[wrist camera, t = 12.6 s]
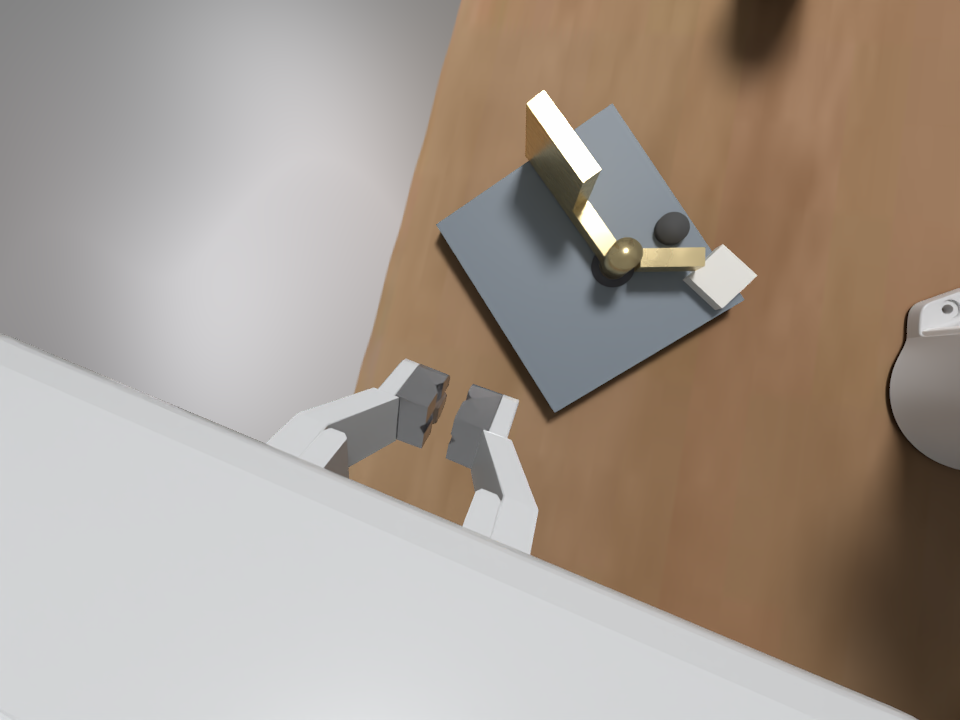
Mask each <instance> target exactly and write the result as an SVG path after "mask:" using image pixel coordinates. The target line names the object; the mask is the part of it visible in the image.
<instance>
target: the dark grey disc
mask: <svg viewBox="0 0 960 720" xmlns="http://www.w3.org/2000/svg"><path fill="white" fill-rule="evenodd" d="M689 230H690V223H689V220H688V218H687V217H686V216H685V215H684V214H682V213H680V212H669V213H667V214H665V215H663V216H662V217H661V218H660V219H659V220H658V221H657V223H656V225H655V227H654V235H655V237H656V239H657V240H658V241H659V242H660V243H662V244H664V245H675V244H677V243H679V242H680V241H681V240H683V239H684V238H685V237H686V236H687V235H688V233H689Z"/></svg>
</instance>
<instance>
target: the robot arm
mask: <svg viewBox="0 0 960 720" xmlns="http://www.w3.org/2000/svg"><path fill="white" fill-rule="evenodd" d="M942 308H943V312H942ZM449 381H450V376H449V375H447V374H445V373H442V372H440V371H437V370H435V369H432V368H429V367H427V366H424V365H422V364H418V363H416V362H413V361H411V360H408V359H405V360H403V361H402V362H401V363H400V364H399V365H398V366H397V367H396V369H395V370H394V371H393V372H392V373H391V374H390V376H389V377H388V378H387V379H386V380H385V381H384V383H383V384H382V385H381V386H380V387H379V388H378V389H376V388H371V389H368V390H365V391H362V392H359V393H356V394H353V395H350V396H347V397H344V398H341V399H338V400H335V401H332V402H329V403H326V404H323V405H320V406H317V407H314V408H311V409H308V410H305V411H302V412H299V413H297V414H296V415H295V416H294V417H293V418H292V419H291V420H290V421H289V422H288V423H287V424H285V426H283V427H282V428H281V429H280V430H279V431H278V432H277V433H276V434H275V435H274V436H273V437H272V438H271V439H270V440H269V441H268V442H266V443H263V442H260V441H258V440H256V439H253V438H251V437H248V436H246V435H244V434H241V433H239V432H237V431H234V430H232V429H229V428H227V427H225V426H222V425H220V424H217V423H215V422H213V421H210V420H208V419H206V418H203V417H201V416H198V415H196V414H194V413H191V412H189V411H187V410H184V409H182V408H179V407H177V406H175V405H172V404H170V403H168V402H165V401H163V400H160V399H158V398H156V397H153V396H151V395H149V394H146V393H144V392H141V391H139V390H136V389H134V388H132V387H129V386H127V385H125V384H122V383H120V382H117V381H115V380H113V379H110V378H108V377H106V376H103V375H101V374H98V373H96V372H94V371H91V370H89V369H86V368H84V367H82V366H79V365H77V364H75V363H72V362H70V361H67V360H65V359H63V358H60V357H58V356H55V355H53V354H51V353H48V352H46V351H44V350H41V349H39V348H37V347H34V346H32V345H30V344H27V343H25V342H23V341H20V340H18V339H16V338H14V337H11V336H8V335H5V334H1V333H0V720H918V719H916V718H915V717H913V716H911V715H909V714H907V713H905V712H903V711H900V710H898V709H896V708H894V707H892V706H889V705H887V704H885V703H882V702H880V701H877V700H875V699H873V698H870V697H868V696H865V695H863V694H861V693H858V692H856V691H853V690H851V689H849V688H846V687H844V686H842V685H839V684H837V683H834V682H832V681H830V680H827V679H825V678H822V677H820V676H818V675H815V674H813V673H811V672H808V671H806V670H803V669H801V668H799V667H796V666H794V665H791V664H789V663H787V662H784V661H782V660H779V659H777V658H775V657H772V656H770V655H768V654H765V653H763V652H760V651H758V650H756V649H753V648H751V647H748V646H746V645H744V644H741V643H739V642H737V641H734V640H732V639H729V638H727V637H725V636H722V635H720V634H717V633H715V632H713V631H710V630H708V629H706V628H703V627H701V626H698V625H696V624H694V623H691V622H689V621H687V620H684V619H682V618H679V617H677V616H675V615H672V614H670V613H668V612H665V611H663V610H660V609H658V608H656V607H653V606H651V605H648V604H646V603H644V602H641V601H639V600H637V599H634V598H632V597H629V596H627V595H625V594H622V593H620V592H618V591H615V590H613V589H610V588H608V587H606V586H603V585H601V584H599V583H596V582H594V581H591V580H589V579H587V578H584V577H582V576H579V575H577V574H575V573H572V572H570V571H568V570H565V569H563V568H560V567H558V566H556V565H553V564H551V563H549V562H546V561H544V560H541V559H539V558H537V557H534V556H532V555H530V551H531V546H532V541H533V536H534V531H535V525H536V520H537V515H538V508H537V505H536V503H535V500H534V498H533V495H532V492H531V490H530V487H529V484H528V482H527V479H526V477H525V474H524V471H523V469H522V466H521V464H520V461H519V458H518V456H517V453H516V450H515V448H514V445H513V443H512V440H509V439H507V437H508V434H509V431H510V428H511V425H512V422H513V419H514V416H515V413H516V410H517V407H518V404H519V400H517V399H515V398H512V397H509V396H506V395H502V394H500V393H497V392H494V391H491V390H489V389H486V388H483V387H480V386H477V385H475V384H473V385H472V386H471V388H470V390H469V391H468V395H467V399H466V401H464V402H463V403H462V405H461V407H460V409H459V411H458V413H457V415H456V417H455V420H454V424H453V428H452V432H451V434H452V438H451V441H450V443H449V445H448V450H447V455H446V458H447V459H449V460H451V461H454V462H456V463H458V464H461V465H463V466H465V467H468V468H470V469H471V474H472V479H473V484H474V489H475V495H474V498H473V500H472V503H471V505H470V508H469V511H468V513H467V516H466V518H465V521H464V524H463V526H460V525H458V524H456V523H453V522H451V521H448V520H446V519H444V518H441V517H439V516H436V515H434V514H432V513H429V512H427V511H424V510H422V509H420V508H417V507H415V506H413V505H410V504H408V503H405V502H403V501H401V500H398V499H396V498H393V497H391V496H389V495H386V494H384V493H382V492H379V491H377V490H374V489H372V488H370V487H367V486H365V485H363V484H360V483H358V482H355V481H353V480H351V479H349V471H348V467H350V466H351V465H353V464H355V463H357V462H359V461H360V460H362V459H364V458H366V457H367V456H369V455H371V454H373V453H375V452H376V451H378V450H380V449H382V448H383V447H385V446H387V445H389V444H391V443H392V442H394V441H396V439H397V440H400V441H403V442H405V443H408V444H411V445H414V446H416V447H419V448H422V447H423V445H424V443H425V442H426V440H427V438H428V436H429V435H430V433H431V428H432V424H434V423H437V421H438V419H439V417H440V415H441V413H442V410H443V408H444V405H445V402H446V397H447V395H446V393H445V391H446V389H447V387H448V386H449ZM890 401H891V407H892V411H893V414H894V417H895V419H896V422H897V424H898V426H899V428H900V429H901V431H902V432H903V434H904V435H905V437H906V438H907V439H908V440H909V441H910V442H911V443H912V444H913V445H914V446H915V447H916V448H917V449H918V450H919V451H920V452H922V453H923V454H924V455H926V456H927V457H929V458H931V459H932V460H934V461H936V462H938V463H940V464H943V465H945V466H948V467H951V468H955V469H959V470H960V288H958V289H955V290H952V291H949V292H946V293H944V294H941V295H938V296H935V297H932V298H929V299H927V300H924V301H921V302H918V303H916V304H915V305H914V306H913V307H912V308H911V309H910V311H909V314H908V321H907V339H906V343H905V345H904V347H903V349H902V351H901V353H900V355H899V357H898V359H897V361H896V363H895V366H894V369H893V372H892V376H891V381H890Z"/></svg>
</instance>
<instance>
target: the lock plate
mask: <svg viewBox="0 0 960 720" xmlns="http://www.w3.org/2000/svg"><path fill="white" fill-rule="evenodd" d="M573 131H574V132H575V134H576V135H577V136H578V138H579V139H580V140H581V142H582V143H583V145H584V146H585V147H586V149H587V150H588V152H589V153H590V154H591V156H592V157H593V159H594V160H595V161H596V163H597V164H598V165H599V167H600V168H601V171H600V174H599V176H598V178H597V181H596V183H595V185H594V187H593V190H592V192H591V194H590V197H589V199H588V201H589V203H590V204H591V206H592V207H593V209H594V210H595V211H596V213H597V214H598V216H599V217H600V218H601V220H602V221H603V223H604V224H605V225H606V227H607V228H608V230H609V231H610V232H611V234H612V235H613V237H614V238H615V239H616V241H617V240H619V239H621V238H624V237H630V238H634V239H636V240H637V241H638V242H639V243H640V244H641V246H642V248H687V247H705V258H706V257H707V256H708V255H709V254H710V253H711V252H712V251H711V249H710V248H709V247H708V245H707V244H706V242H705V241H704V239H703V238H702V236H701V235H700V233H699V232H698V230H697V229H696V227H695V226H694V224H693V223H692V221H691V220H690V218H689V217H688V215H687V214H686V212H685V211H684V209H683V208H682V206H681V205H680V203H679V202H678V200H677V199H676V197H675V196H674V194H673V193H672V191H671V190H670V189H669V187H668V186H667V184H666V183H665V181H664V180H663V178H662V177H661V175H660V174H659V172H658V171H657V169H656V168H655V166H654V165H653V163H652V162H651V160H650V159H649V157H648V156H647V154H646V153H645V151H644V150H643V148H642V147H641V145H640V144H639V142H638V141H637V139H636V138H635V136H634V135H633V133H632V132H631V130H630V129H629V128H628V126H627V125H626V123H625V122H624V120H623V119H622V117H621V116H620V114H619V113H618V111H617V110H616V108H615V107H614V105H613V104H611V105H609V106H608V107H607V108H605V109H604V110H602V111H601V112H599V113H598V114H596V115H595V116H593V117H592V118H591V119H589V120H588V121H586V122H585V123H583V124H582V125H580V126H579V127H577V128H576V129H575V130H573ZM669 212H680V213H682V214H684V215H685V216H686V217H687V218H688V220H689V223H690V230H689V233H688V235H687V236H686V237H685V238H684V239H683V240H681V241H680V242H679V243H677V244H675V245H664V244H662V243H660V242H659V241H658V240H657V239H656V237H655V235H654V227H655V225H656V223H657V221H658V220H659V219H660V218H661V217H662V216H663V215H665V214H667V213H669ZM436 225H437V227H438V228H439V230H440V232H441V233H442V235H443V236H444V238H445V239H446V241H447V243H448V244H449V246H450V247H451V249H452V251H453V252H454V254H455V255H456V257H457V259H458V260H459V262H460V263H461V265H462V267H463V268H464V270H465V271H466V273H467V274H468V276H469V278H470V279H471V281H472V282H473V284H474V286H475V287H476V289H477V290H478V292H479V294H480V295H481V297H482V298H483V300H484V301H485V303H486V305H487V306H488V308H489V309H490V311H491V313H492V314H493V316H494V317H495V319H496V321H497V322H498V324H499V325H500V327H501V328H502V330H503V332H504V333H505V335H506V336H507V338H508V340H509V341H510V343H511V344H512V346H513V348H514V349H515V351H516V352H517V354H518V356H519V357H520V359H521V360H522V362H523V363H524V365H525V367H526V368H527V370H528V371H529V373H530V375H531V376H532V378H533V379H534V381H535V383H536V384H537V386H538V387H539V389H540V390H541V392H542V394H543V395H544V397H545V398H546V400H547V402H548V403H549V405H550V406H551V408H552V410H553V411H554V413H555V412H557V411H559V410H560V409H562V408H564V407H565V406H567V405H569V404H570V403H572V402H574V401H575V400H577V399H579V398H580V397H582V396H584V395H585V394H587V393H589V392H591V391H592V390H594V389H596V388H597V387H599V386H601V385H602V384H604V383H606V382H607V381H609V380H611V379H612V378H614V377H616V376H617V375H619V374H621V373H622V372H624V371H626V370H627V369H629V368H631V367H632V366H634V365H636V364H638V363H639V362H641V361H643V360H644V359H646V358H648V357H649V356H651V355H653V354H654V353H656V352H658V351H659V350H661V349H663V348H664V347H666V346H668V345H669V344H671V343H673V342H674V341H676V340H678V339H679V338H681V337H683V336H685V335H686V334H688V333H690V332H691V331H693V330H695V329H696V328H698V327H700V326H701V325H703V324H705V323H706V322H708V321H710V320H711V319H713V318H715V317H716V316H718V315H720V314H721V313H723V312H725V311H727V310H728V309H730V308H732V307H733V306H735V305H737V304H738V303H740V302H742V301H743V300H744V299H743V297H742V296H741V294H740V293H738V294H737V295H736V296H735V297H734V298H733V299H732V300H731V301H730V302H729V303H728V304H727V305H726V306H724V307H723V308H722V309H718V310H714V309H713V308H712V307H711V306H710V305H709V304H708V303H707V302H706V301H705V300H704V299H703V298H702V297H700V296H699V295H698V294H697V293H696V292H695V291H694V290H693V289H692V288H691V287H690V286H689V285H688V284H686V283H685V282H684V281H683V279H684V278H685V277H686V276H687V275H688V274H689V273H691V272H692V271H669V272H634V268H632V269H631V270H630V271H629V272H627V273H626V274H625V275H623V276H622V277H621V278H618V279H608V278H606V277H605V276H604V275H603V274H602V273H601V271H600V267H599V265H600V261H599V259H598V258H597V256H596V255H595V254H594V252H593V251H592V249H591V248H590V247H589V245H588V244H587V242H586V241H585V240H584V238H583V237H582V235H581V234H580V232H579V231H578V230H577V228H576V227H575V225H574V224H573V223H572V221H571V220H570V218H569V217H568V215H567V214H566V213H565V211H564V210H563V208H562V207H561V206H560V204H559V203H558V201H557V200H556V199H555V197H554V196H553V194H552V193H551V191H550V190H549V189H548V187H547V186H546V184H545V183H544V182H543V180H542V179H541V177H540V176H539V174H538V173H537V172H536V170H535V169H534V167H533V166H532V165H531V163H530V162H529V161H528V162H527V163H525V164H524V165H522V166H521V167H519V168H518V169H516V170H515V171H513V172H512V173H511V174H509V175H508V176H506V177H505V178H503V179H502V180H500V181H499V182H497V183H496V184H495V185H493V186H492V187H490V188H489V189H487V190H486V191H484V192H483V193H481V194H480V195H479V196H477V197H476V198H474V199H473V200H471V201H470V202H468V203H467V204H465V205H464V206H463V207H461V208H460V209H458V210H457V211H455V212H454V213H452V214H451V215H449V216H448V217H447V218H445V219H444V220H442V221H441V222H439V223H438V224H436Z"/></svg>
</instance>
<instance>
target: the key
mask: <svg viewBox="0 0 960 720" xmlns="http://www.w3.org/2000/svg"><path fill="white" fill-rule="evenodd" d="M525 156H526V158H527V159H528V160H529V162H530V163H531V165H532V166H533V167H534V169H535V170H536V172H537V173H538V174H539V176H540V177H541V179H542V180H543V182H544V183H545V184H546V186H547V187H548V189H549V190H550V191H551V193H552V194H553V196H554V197H555V199H556V200H557V201H558V203H559V204H560V206H561V207H562V208H563V210H564V211H565V213H566V214H567V215H568V217H569V218H570V220H571V221H572V223H573V224H574V225H575V227H576V228H577V230H578V231H579V232H580V234H581V235H582V237H583V238H584V240H585V241H586V242H587V244H588V245H589V247H590V248H591V249H592V251H593V252H594V254H595V255H596V256H597V258H598V259H599V261H600V265H599V267H600V271H601V273H602V274H603V275H604V276H605V277H606V278H608V279H618V278H621V277H622V276H623V275H625V274H626V273H627V272H629V271H630V270H631V269H632V268H634V272H669V271H696V270H698V269H700V268H702V267H704V266H705V247H687V248H642V246H641V244H640V243H639V242H638V241H637V240H636V239H634V238H630V237H624V238H621V239H619V240H617V241H616V239H615V238H614V237H613V235H612V234H611V232H610V231H609V230H608V228H607V227H606V225H605V224H604V223H603V221H602V220H601V218H600V217H599V216H598V214H597V213H596V211H595V210H594V209H593V207H592V206H591V204H590V203H589V201H588V199H589V197H590V194H591V192H592V190H593V187H594V185H595V183H596V181H597V178H598V176H599V174H600V171H601V168H600V167H599V165H598V164H597V163H596V161H595V160H594V159H593V157H592V156H591V154H590V153H589V152H588V150H587V149H586V147H585V146H584V145H583V143H582V142H581V140H580V139H579V138H578V136H577V135H576V134H575V132H574V131H573V129H572V128H571V127H570V125H569V124H568V122H567V121H566V120H565V118H564V117H563V115H562V114H561V113H560V111H559V110H558V109H557V107H556V106H555V104H554V103H553V102H552V100H551V99H550V97H549V96H548V95H547V93H546V92H545V90H543V91H542V92H541V93H539V94H538V95H537V96H535V97H534V98H533V99H531V100H530V101H529V102H528V103H526V149H525Z"/></svg>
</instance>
